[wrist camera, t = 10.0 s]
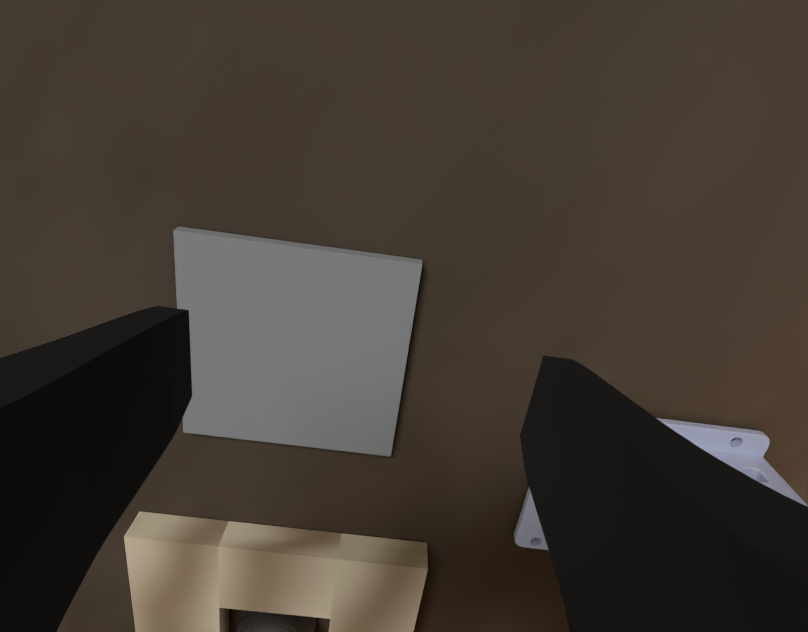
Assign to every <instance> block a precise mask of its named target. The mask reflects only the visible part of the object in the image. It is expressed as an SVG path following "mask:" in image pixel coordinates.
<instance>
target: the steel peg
mask: <svg viewBox="0 0 808 632" xmlns="http://www.w3.org/2000/svg"><path fill="white" fill-rule="evenodd" d="M316 621H317V618H316V617H307V616H297V615H287V614H277V613H267V612H257V611H247V610H243V613H242V616H241V619H240V622H239V625H238V629H237V632H315V627H316Z"/></svg>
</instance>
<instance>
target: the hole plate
mask: <svg viewBox="0 0 808 632" xmlns="http://www.w3.org/2000/svg"><path fill="white" fill-rule="evenodd" d="M124 541H125V549H126V557H127V565H128V573H129V581H130V590H131V598H132V606H133V614H134V622H135V630H136V632H229V609H237V610H247V611H257V612H267V613H277V614H287V615H297V616H307V617H317V618H327V619H330V626H329V632H414V628H415V623H416V619H417V615H418V610H419V606H420V601H421V597H422V593H423V588H424V584H425V580H426V575H427V571H428V556H427V543H426V542H417V541H407V540H398V539H389V538H380V537H371V536H361V535H352V534H343V533H334V532H324V531H315V530H306V529H297V528H288V527H278V526H269V525H260V524H251V523H242V522H232V521H223V520H214V519H205V518H195V517H186V516H177V515H168V514H159V513H149V512H139V513H138V515H137V516H136V518H135V520H134V521H133V523H132V524H131V526H130V528H129V529H128V531H127V533H126V534H125V536H124Z"/></svg>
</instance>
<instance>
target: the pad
mask: <svg viewBox="0 0 808 632" xmlns="http://www.w3.org/2000/svg"><path fill="white" fill-rule="evenodd" d="M173 233H174V253H175V273H176V293H177V309H184V310H189V327H190V353H191V378H192V398H191V400H190V402H189V405H188V407H187V409H186V411H185V414H184V416H183V432H184V433H193V434H201V435H210V436H219V437H227V438H236V439H244V440H253V441H261V442H270V443H279V444H287V445H296V446H304V447H313V448H321V449H330V450H339V451H347V452H356V453H364V454H373V455H381V456H390V457H391V453H392V447H393V440H394V434H395V428H396V422H397V416H398V410H399V404H400V398H401V392H402V386H403V380H404V373H405V367H406V361H407V355H408V349H409V343H410V337H411V331H412V325H413V319H414V313H415V306H416V300H417V294H418V288H419V282H420V276H421V270H422V260H420V259H413V258H405V257H398V256H391V255H384V254H376V253H369V252H362V251H354V250H347V249H340V248H332V247H325V246H318V245H310V244H303V243H296V242H289V241H281V240H274V239H267V238H259V237H252V236H245V235H237V234H230V233H223V232H215V231H208V230H201V229H193V228H186V227H178V228H176V229H175V230H173Z"/></svg>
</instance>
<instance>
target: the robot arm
mask: <svg viewBox="0 0 808 632" xmlns="http://www.w3.org/2000/svg"><path fill="white" fill-rule="evenodd" d="M191 398H192V378H191V353H190V327H189V310H184V309H176V308H168V307H161V306H156V307H151V308H147V309H144V310H140V311H137V312H134V313H131V314H128V315H125V316H122V317H119V318H117V319H114V320H111V321H108V322H106V323H103V324H100V325H97V326H94V327H92V328H89V329H86V330H83V331H81V332H78V333H75V334H72V335H69V336H67V337H64V338H61V339H58V340H55V341H52V342H49V343H46V344H43V345H40V346H37V347H34V348H30V349H27V350H24V351H21V352H18V353H15V354H12V355H9V356H6V357H3V358H0V632H56V631H57V629H58V627H59V625H60V623H61V621H62V619H63V617H64V615H65V613H66V611H67V609H68V607H69V605H70V603H71V602H72V600H73V598H74V596H75V594H76V592H77V590H78V588H79V586H80V585H81V583H82V581H83V579H84V577H85V575H86V573H87V571H88V569H89V568H90V566H91V564H92V562H93V560H94V558H95V556H96V554H97V553H98V551H99V550H100V548H101V546H102V545H103V543H104V541H105V540H106V538H107V536H108V535H109V533H110V532H111V530H112V529H113V527H114V526H115V524H116V523H117V521H118V520H119V518H120V517H121V515H122V514H123V512H124V511H125V509H126V508H127V506H128V505H129V503H130V502H131V500H132V499H133V497H134V496H135V494H136V493H137V491H138V490H139V488H140V487H141V485H142V484H143V482H144V481H145V479H146V478H147V476H148V475H149V473H150V472H151V470H152V469H153V467H154V466H155V464H156V463H157V461H158V460H159V458H160V457H161V455H162V454H163V452H164V451H165V449H166V448H167V446H168V444H169V443H170V441H171V440H172V438H173V436H174V434H175V432H176V430H177V428H178V426H179V424H180V422H181V420H182V418H183V416H184V414H185V411H186V409H187V407H188V405H189V402H190V400H191ZM520 438H521V445H522V453H523V460H524V465H525V471H526V477H527V481H528V484H529V488H528V491H527V494H526V497H525V500H524V503H523V507H522V510H521V513H520V516H519V519H518V522H517V526H516V529H515V532H514V540H515V543H516V544H517V545H518V546H520V547H525V548H534V549H543V550H549V553H550V556H551V559H552V562H553V566H554V569H555V572H556V575H557V578H558V582H559V586H560V589H561V593H562V597H563V601H564V605H565V609H566V614H567V619H568V624H569V629H570V632H808V505H807V504H806V503H805V502H804V501H803V500H802V499H801V498H800V497H799V496H798V495H797V494H796V492H795V491H794V490H793V489H792V488H791V487H790V486H789V485H788V484H787V483H786V482H785V481H784V479H783V478H782V477H781V476H780V475H779V474H778V473H777V472H776V471H775V470H774V469H773V468H772V466H771V465H770V464H769V463H768V462H767V461H766V460H765V459H764V458H763V456H764V454H765V452H766V450H767V448H768V447H769V444H770V440H769V438H768V437H767V436H766V435H765V434H764V433H763V432H761V431H756V430H748V429H740V428H732V427H724V426H716V425H708V424H700V423H692V422H684V421H676V420H668V419H660V418H655V417H654V416H652V415H651V414H649V413H648V412H647V411H645V410H644V409H642V408H641V407H640V406H638V405H637V404H636V403H634V402H633V401H632V400H630V399H629V398H627V397H626V396H625V395H623V394H622V393H621V392H619V391H618V390H617V389H615V388H614V387H613V386H611V385H610V384H609V383H607V382H606V381H605V380H603V379H602V378H600V377H599V376H598V375H596V374H595V373H593V372H592V371H591V370H589V369H588V368H586V367H585V366H583V365H581V364H580V363H578V362H576V361H574V360H572V359H565V358H557V357H549V356H543V359H542V363H541V366H540V370H539V373H538V377H537V380H536V383H535V387H534V390H533V394H532V397H531V400H530V404H529V407H528V411H527V414H526V418H525V421H524V424H523V428H522V431H521V435H520ZM734 438H736V439H735V440H733V441H731V440H732V439H734ZM533 538H536V539H533Z"/></svg>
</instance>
